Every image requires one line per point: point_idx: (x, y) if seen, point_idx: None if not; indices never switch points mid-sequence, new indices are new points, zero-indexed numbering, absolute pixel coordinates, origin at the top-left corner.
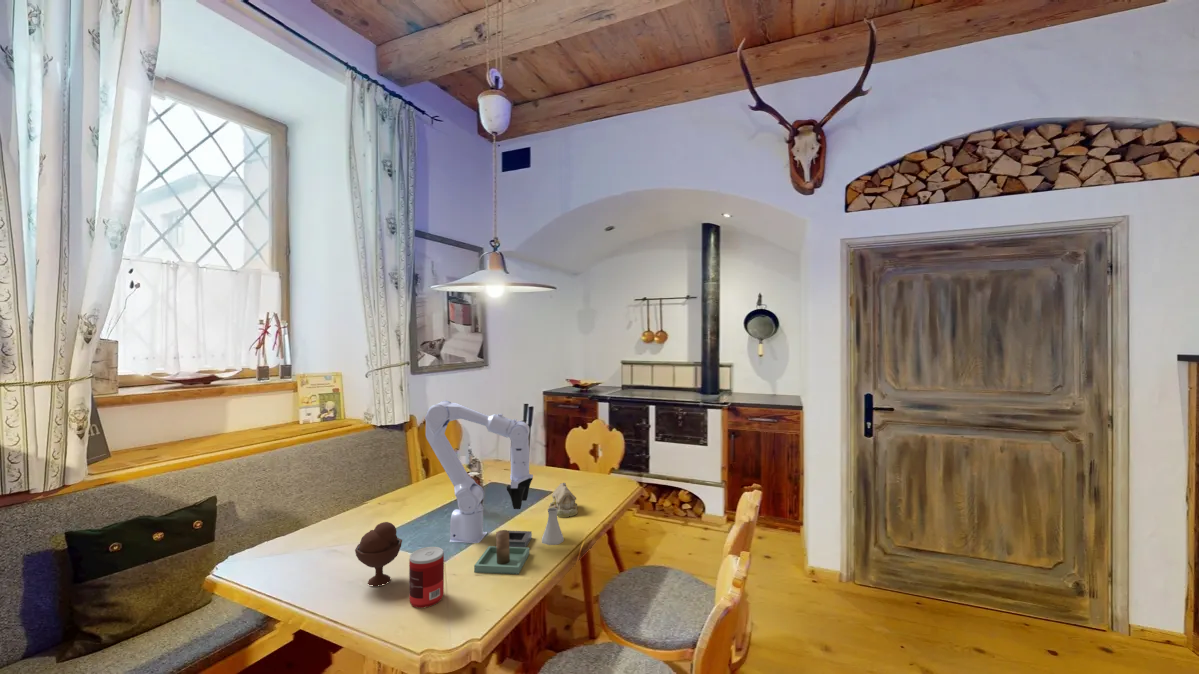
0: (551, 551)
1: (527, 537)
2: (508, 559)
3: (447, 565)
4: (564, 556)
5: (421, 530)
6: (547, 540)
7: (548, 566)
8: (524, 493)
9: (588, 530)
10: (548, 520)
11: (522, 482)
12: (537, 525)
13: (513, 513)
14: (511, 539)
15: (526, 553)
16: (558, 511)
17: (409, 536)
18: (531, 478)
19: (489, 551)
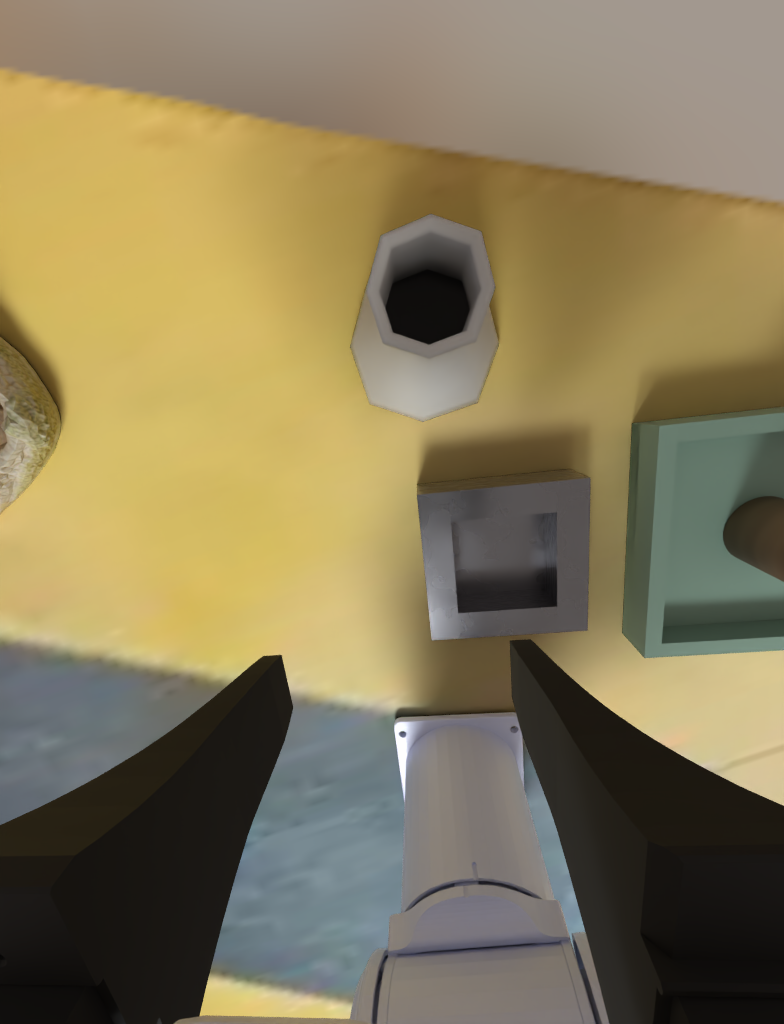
0: (563, 306)
1: (514, 488)
2: None
3: (746, 751)
4: (631, 187)
5: None
6: (488, 358)
7: (778, 252)
8: (252, 728)
9: (187, 136)
10: (462, 348)
11: (175, 917)
12: (221, 515)
13: (115, 686)
14: (458, 584)
15: (742, 416)
16: (29, 430)
17: None
18: (45, 894)
19: (673, 634)
